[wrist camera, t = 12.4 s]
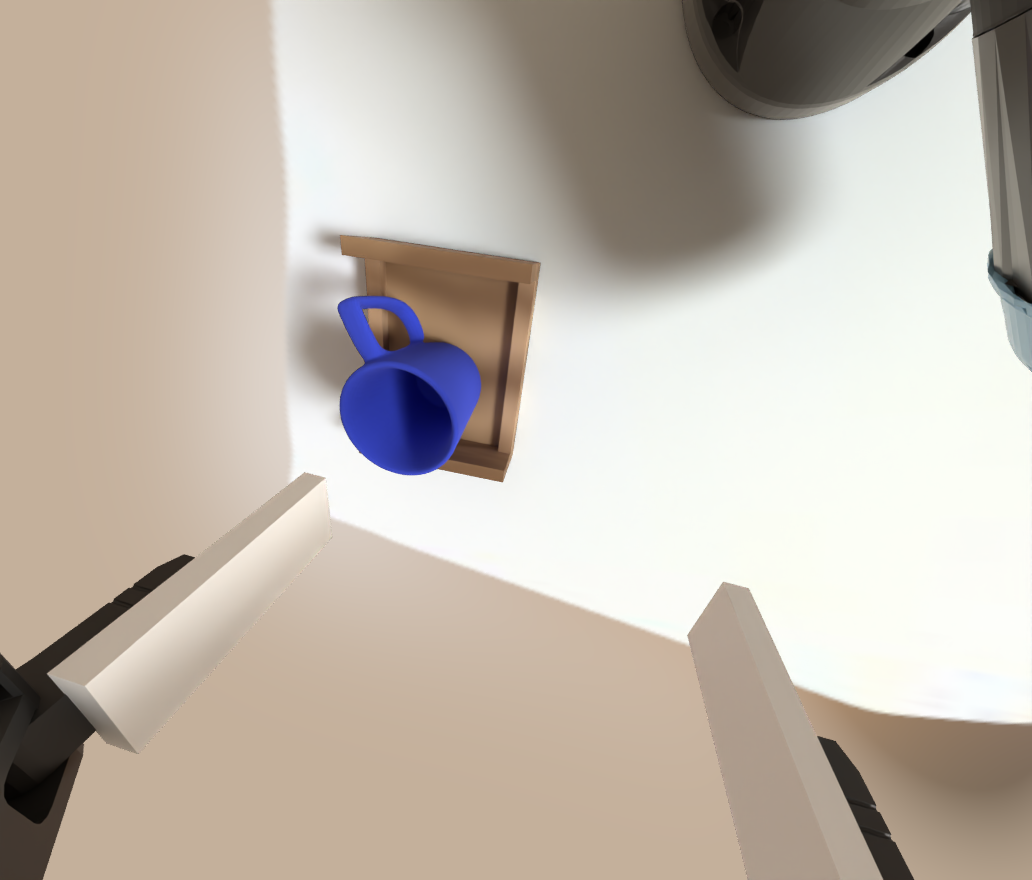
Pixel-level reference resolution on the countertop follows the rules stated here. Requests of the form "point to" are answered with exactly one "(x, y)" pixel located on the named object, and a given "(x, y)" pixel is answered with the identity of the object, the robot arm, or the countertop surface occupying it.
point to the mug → (405, 393)
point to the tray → (461, 330)
